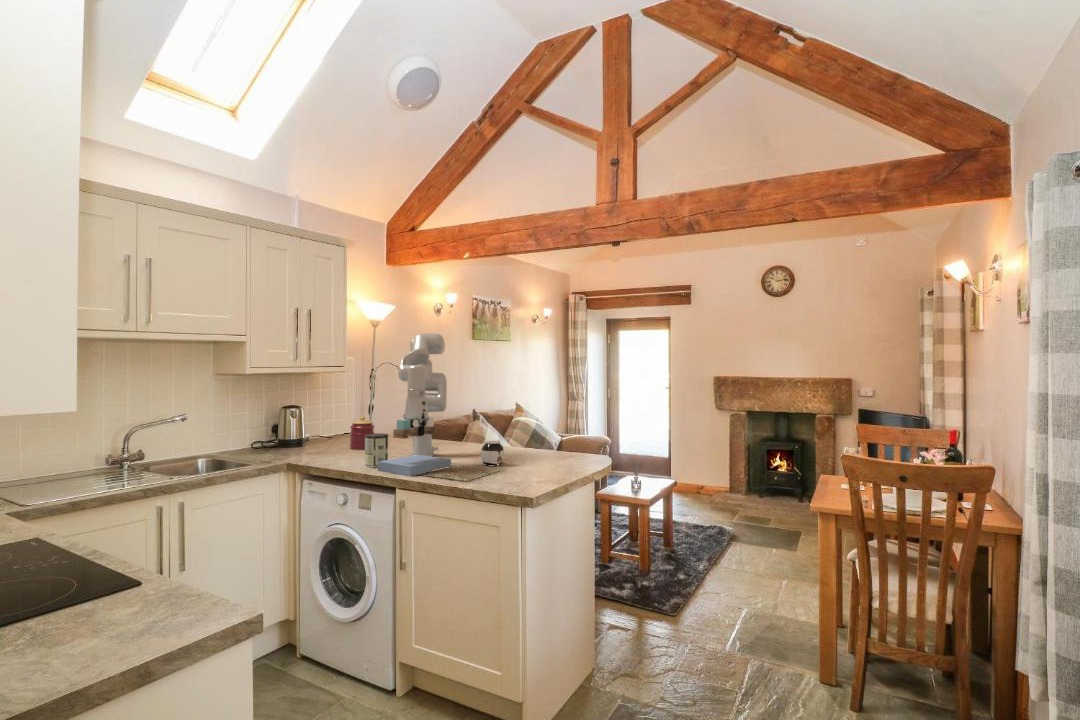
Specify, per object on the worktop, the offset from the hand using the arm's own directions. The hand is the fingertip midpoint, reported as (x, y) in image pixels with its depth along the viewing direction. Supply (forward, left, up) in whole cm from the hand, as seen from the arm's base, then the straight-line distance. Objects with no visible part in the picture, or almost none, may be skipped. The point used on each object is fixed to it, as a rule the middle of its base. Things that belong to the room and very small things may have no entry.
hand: (415, 434), depth 247 cm
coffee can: (+4, -21, -16) cm, 27 cm away
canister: (-28, -72, -16) cm, 79 cm away
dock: (0, 0, -15) cm, 15 cm away
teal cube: (+7, 0, +3) cm, 8 cm away
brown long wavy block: (0, 0, -1) cm, 1 cm away
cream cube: (-7, 0, +3) cm, 8 cm away
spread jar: (-31, +18, -16) cm, 39 cm away
